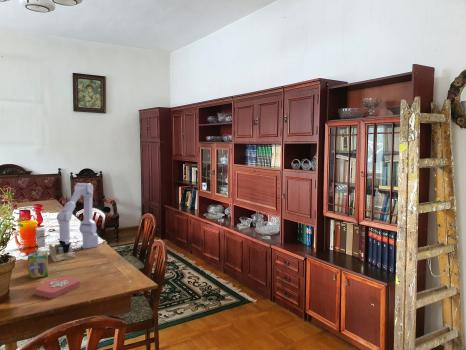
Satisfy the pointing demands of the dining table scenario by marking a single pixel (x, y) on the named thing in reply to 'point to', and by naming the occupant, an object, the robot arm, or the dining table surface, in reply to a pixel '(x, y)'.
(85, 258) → the dining table surface
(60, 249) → the slate boxed book
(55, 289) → the pink flat block
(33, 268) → the chalk box
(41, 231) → the ink box
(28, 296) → the dining table surface
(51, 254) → the birch shelf bay
